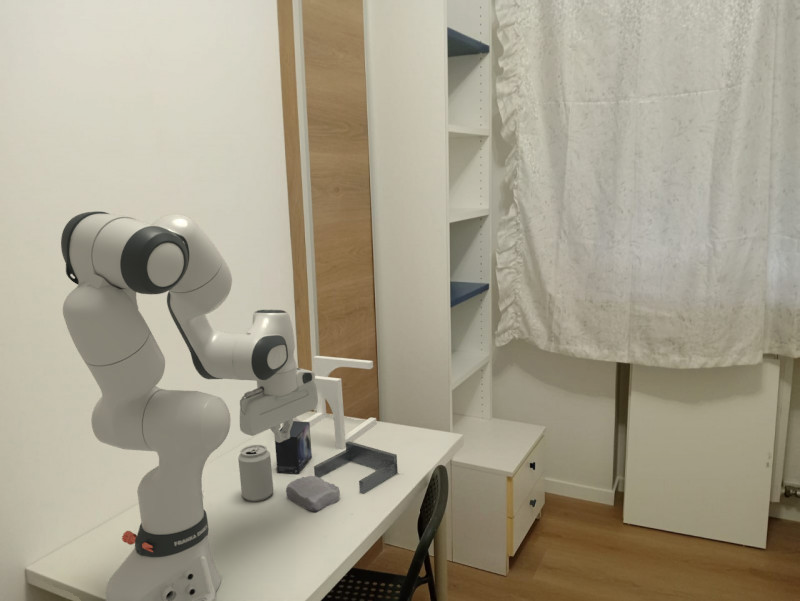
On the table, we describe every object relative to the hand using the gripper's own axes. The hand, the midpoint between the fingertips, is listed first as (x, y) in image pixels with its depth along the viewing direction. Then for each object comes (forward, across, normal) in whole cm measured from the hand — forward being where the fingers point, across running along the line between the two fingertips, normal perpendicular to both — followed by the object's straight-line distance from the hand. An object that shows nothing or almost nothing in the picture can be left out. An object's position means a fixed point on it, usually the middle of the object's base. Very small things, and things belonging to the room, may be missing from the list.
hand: (282, 440), depth 152 cm
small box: (+18, +19, +18) cm, 32 cm away
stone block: (+18, +8, 0) cm, 20 cm away
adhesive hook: (+18, -6, +24) cm, 31 cm away
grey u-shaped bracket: (+18, +23, 0) cm, 29 cm away
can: (+18, +2, +13) cm, 22 cm away
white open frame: (+19, +40, +26) cm, 52 cm away
